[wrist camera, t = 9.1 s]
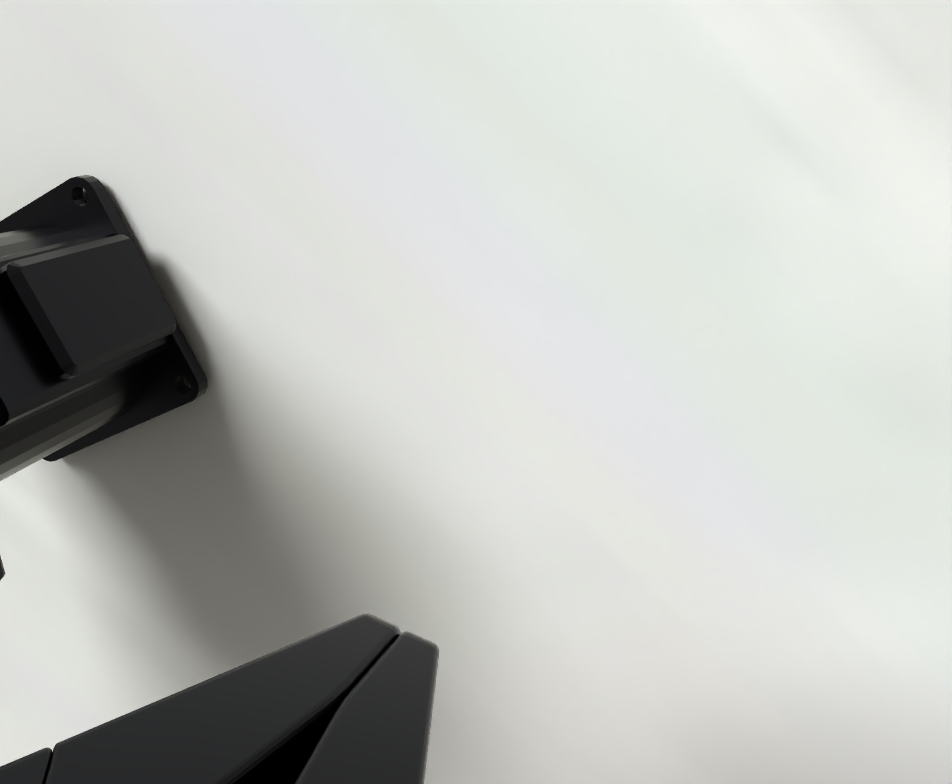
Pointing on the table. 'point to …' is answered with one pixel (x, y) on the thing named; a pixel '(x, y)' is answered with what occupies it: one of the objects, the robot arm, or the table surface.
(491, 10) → the table surface
